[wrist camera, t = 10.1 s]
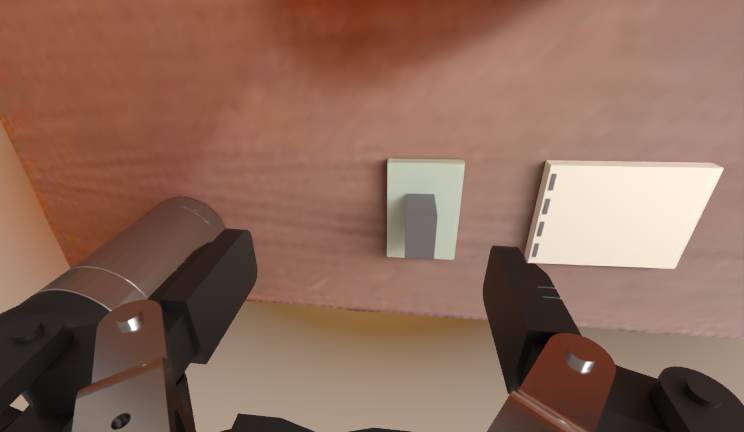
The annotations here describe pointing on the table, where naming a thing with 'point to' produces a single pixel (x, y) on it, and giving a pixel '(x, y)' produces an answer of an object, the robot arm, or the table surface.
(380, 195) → the table surface
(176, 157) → the table surface
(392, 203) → the stub
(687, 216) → the cream panel
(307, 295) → the table surface
